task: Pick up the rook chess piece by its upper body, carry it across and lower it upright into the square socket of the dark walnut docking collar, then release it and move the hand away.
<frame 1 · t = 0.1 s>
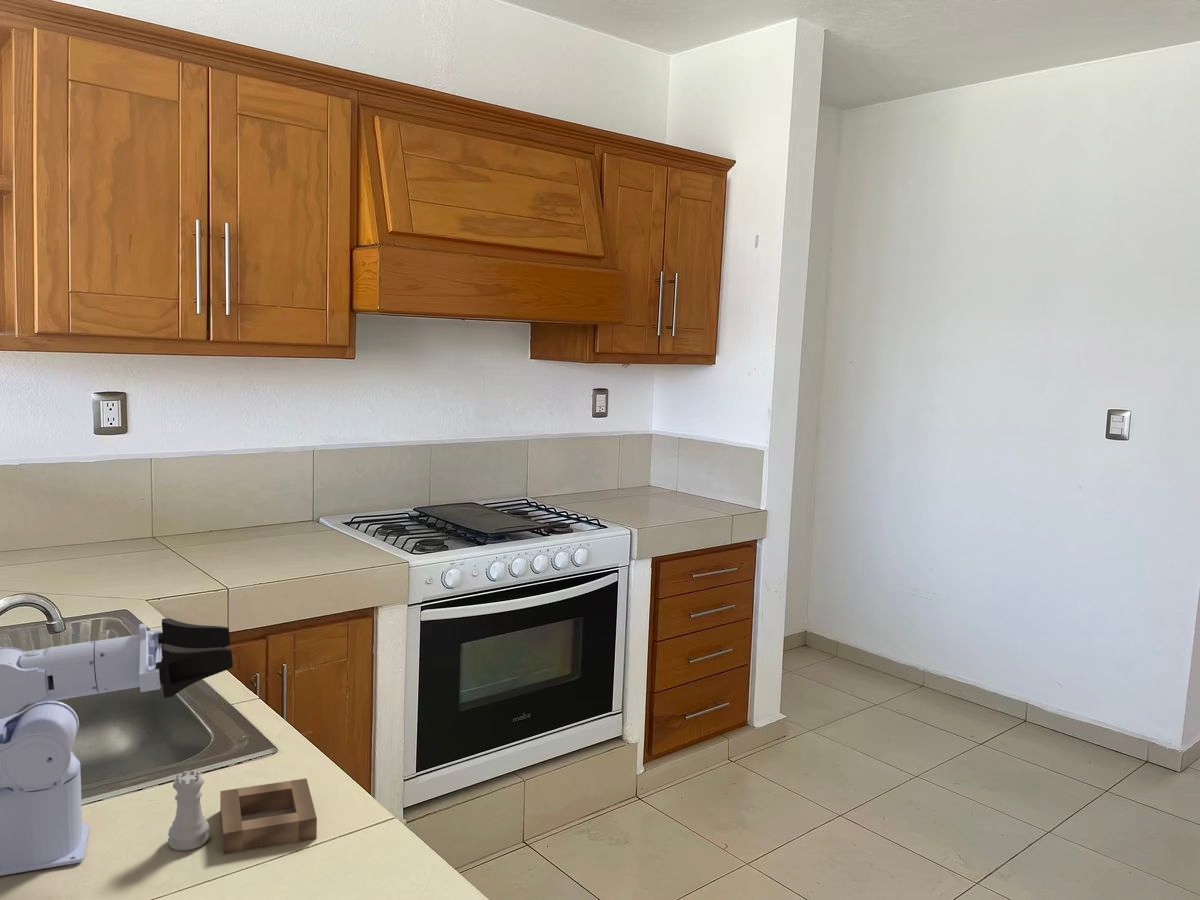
hand: (230, 646, 107), 22 cm above the worktop, tool horizontal, fingers open, 7 cm apart
walnut docking collar: (267, 824, 110), on the worktop
rook chess piece: (189, 843, 105), on the worktop
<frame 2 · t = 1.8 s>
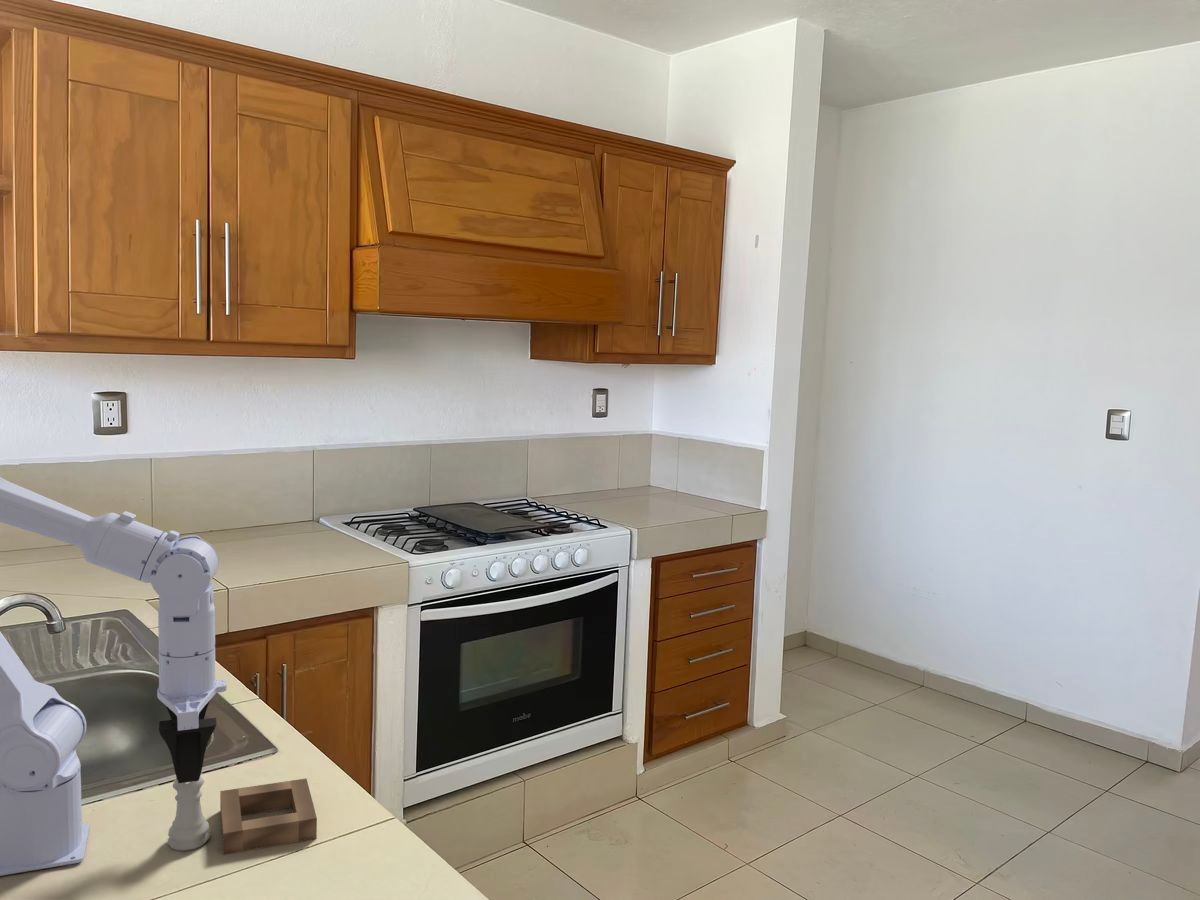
hand: (188, 764, 104), 9 cm above the worktop, tool pointing down, fingers open, 7 cm apart
nothing on the worktop moved.
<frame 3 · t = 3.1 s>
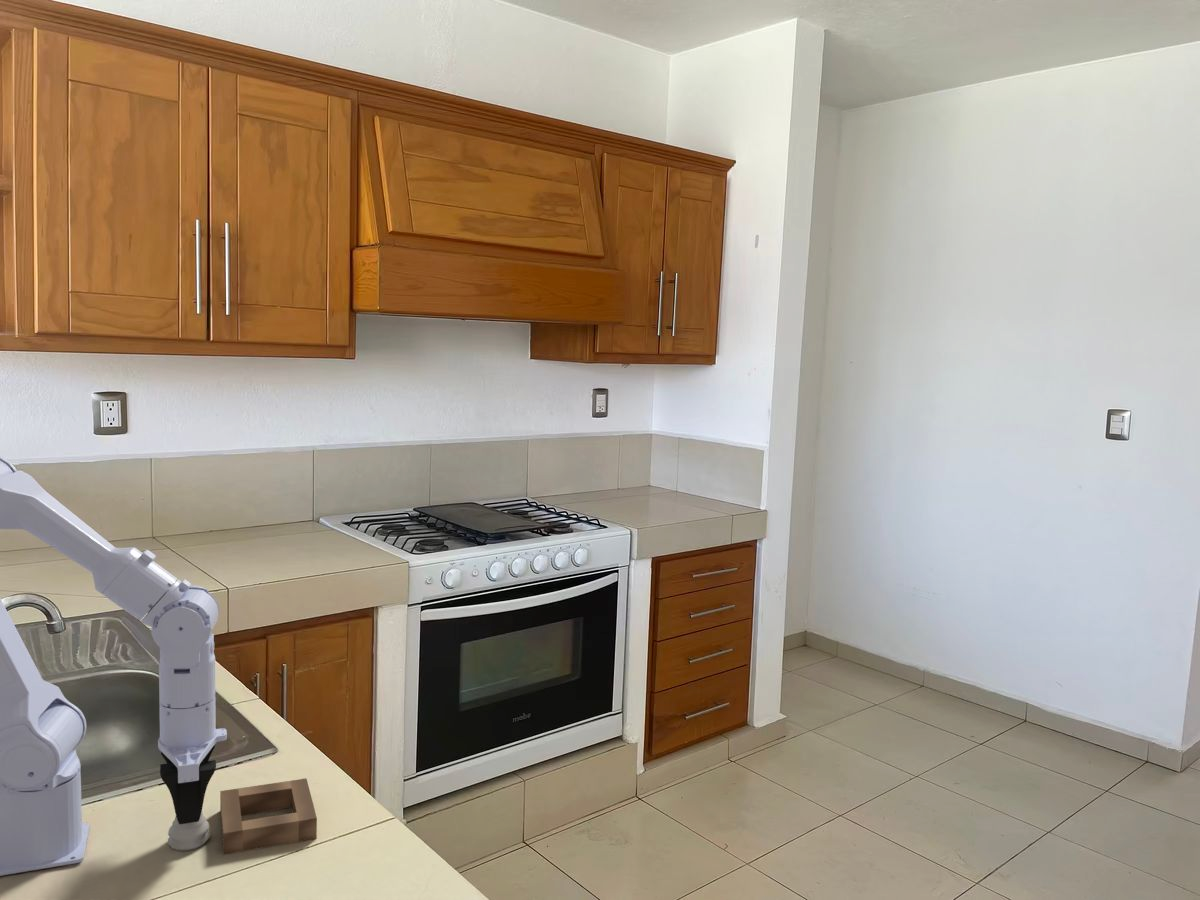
hand: (188, 813, 105), 3 cm above the worktop, tool pointing down, fingers closed on rook chess piece, 3 cm apart
rook chess piece: (189, 843, 105), on the worktop, touching gripper
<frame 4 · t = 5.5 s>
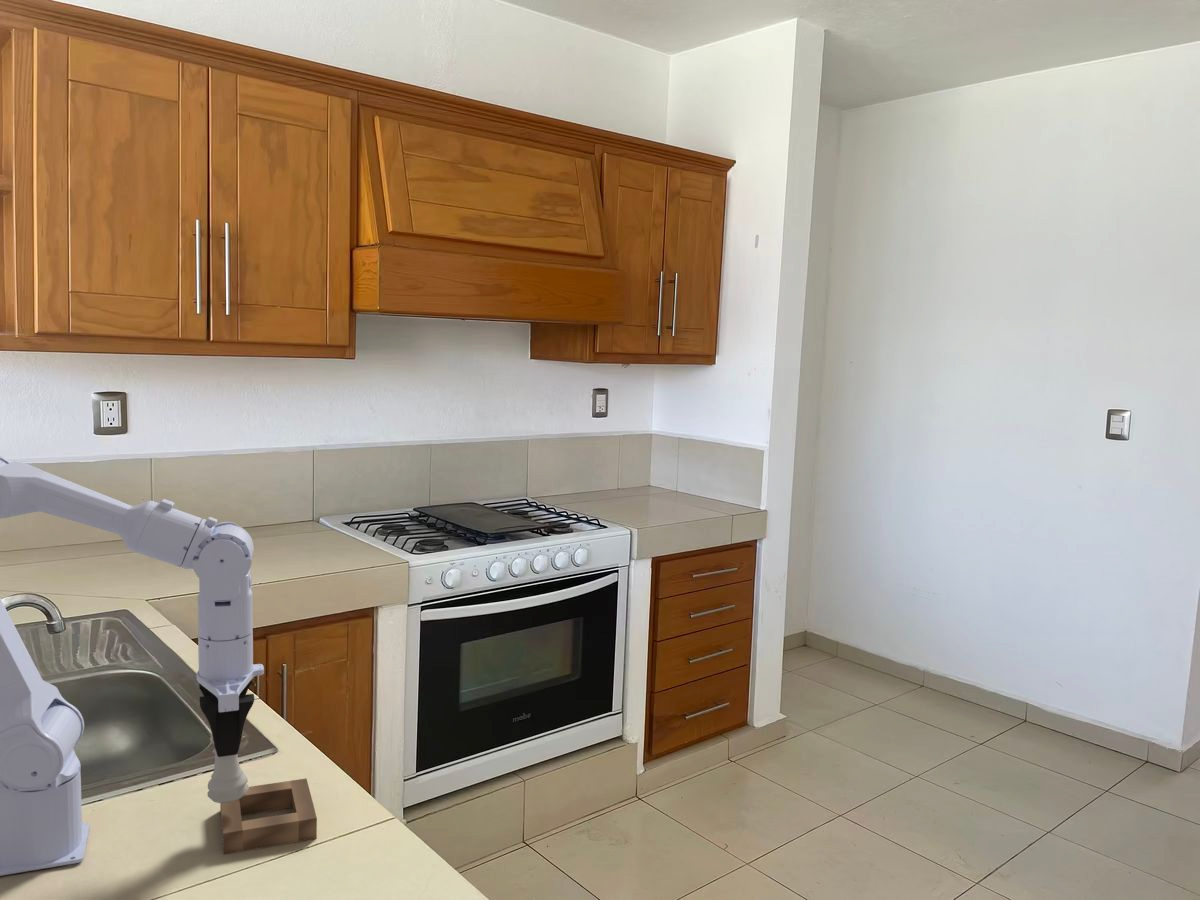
hand: (226, 747, 106), 10 cm above the worktop, tool pointing down, fingers closed on rook chess piece, 3 cm apart
rook chess piece: (228, 796, 107), point 5 cm above the worktop, touching gripper
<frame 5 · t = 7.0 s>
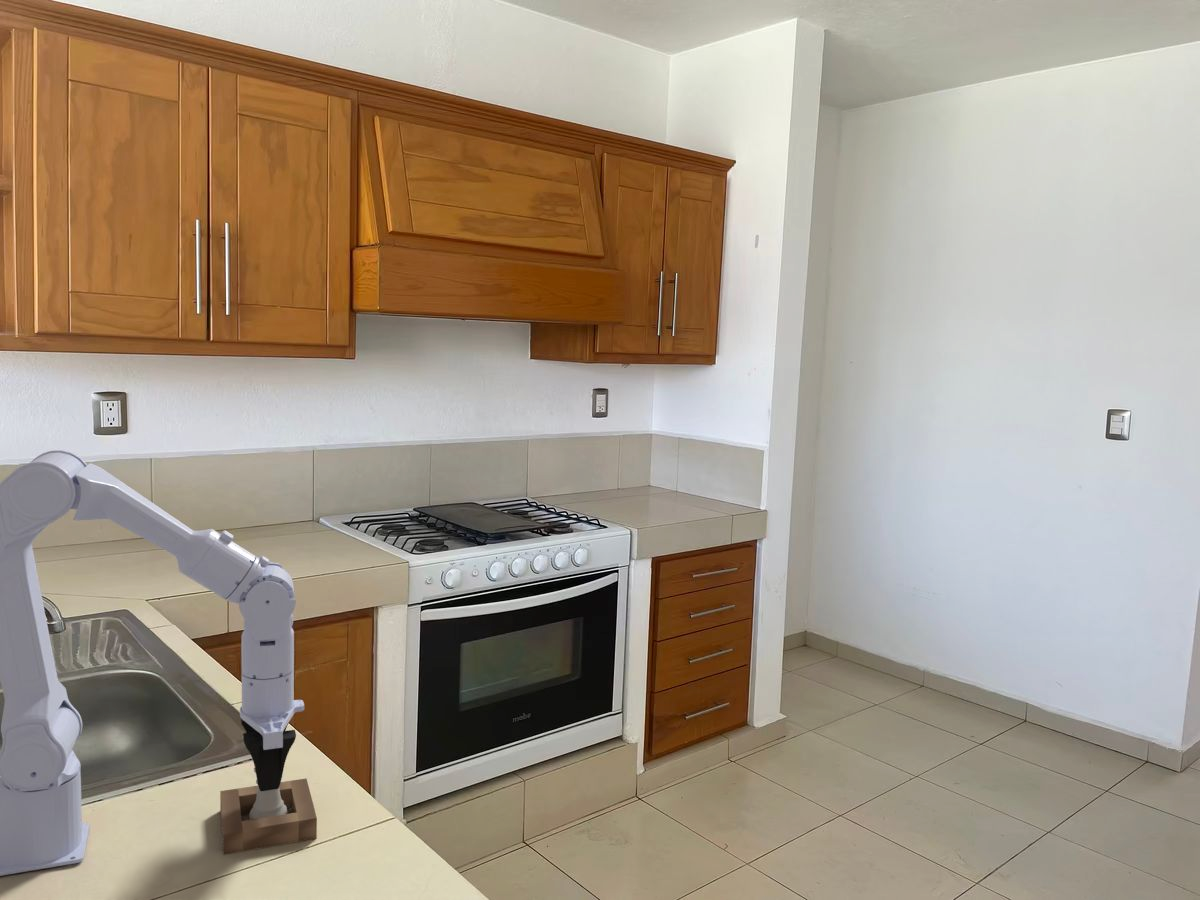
hand: (267, 781, 109), 5 cm above the worktop, tool pointing down, fingers closed on rook chess piece, 3 cm apart
rook chess piece: (268, 825, 110), resting in walnut docking collar, touching gripper
when the fingers open (4 cm above the worktop, at t = 8.0 s): rook chess piece stays where it is, resting in walnut docking collar.
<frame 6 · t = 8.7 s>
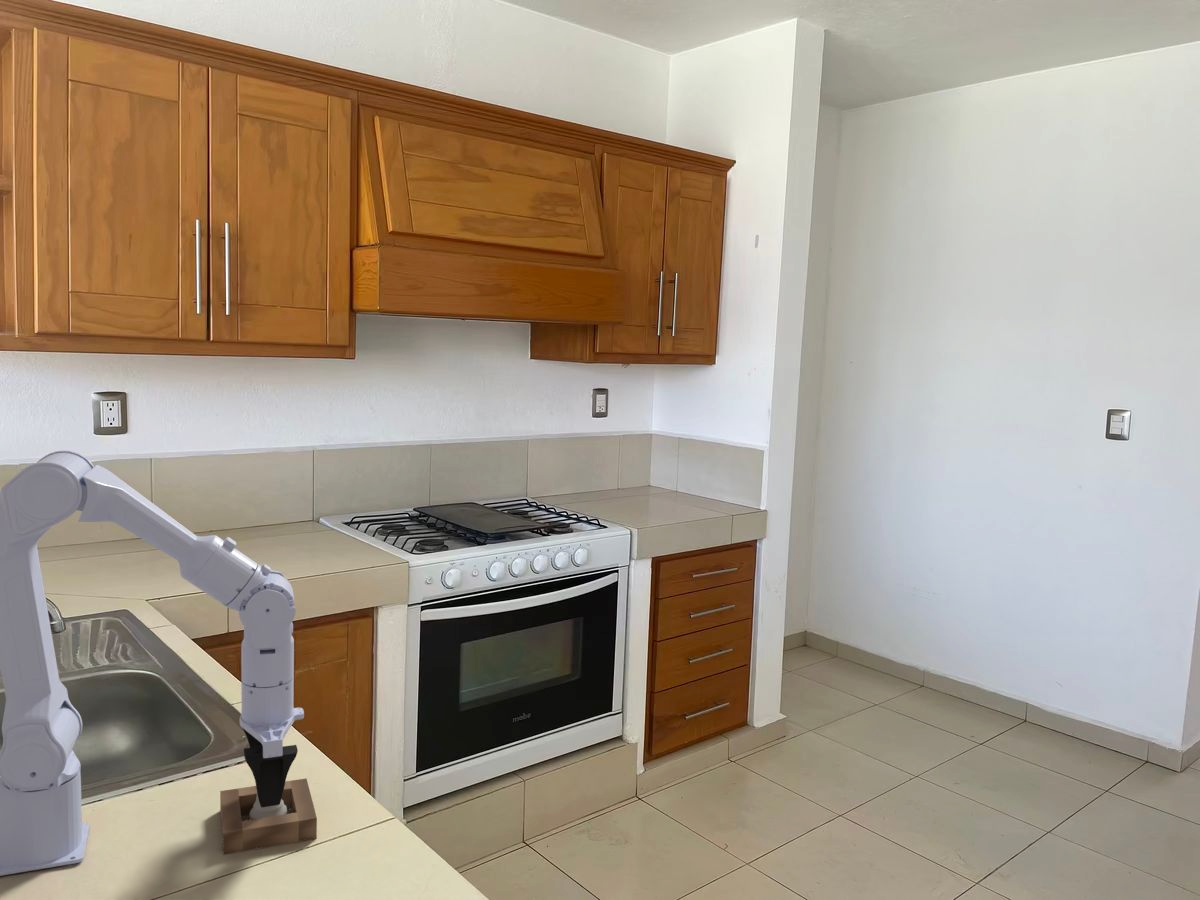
hand: (267, 789, 109), 4 cm above the worktop, tool pointing down, fingers open, 7 cm apart
rook chess piece: (268, 825, 110), resting in walnut docking collar
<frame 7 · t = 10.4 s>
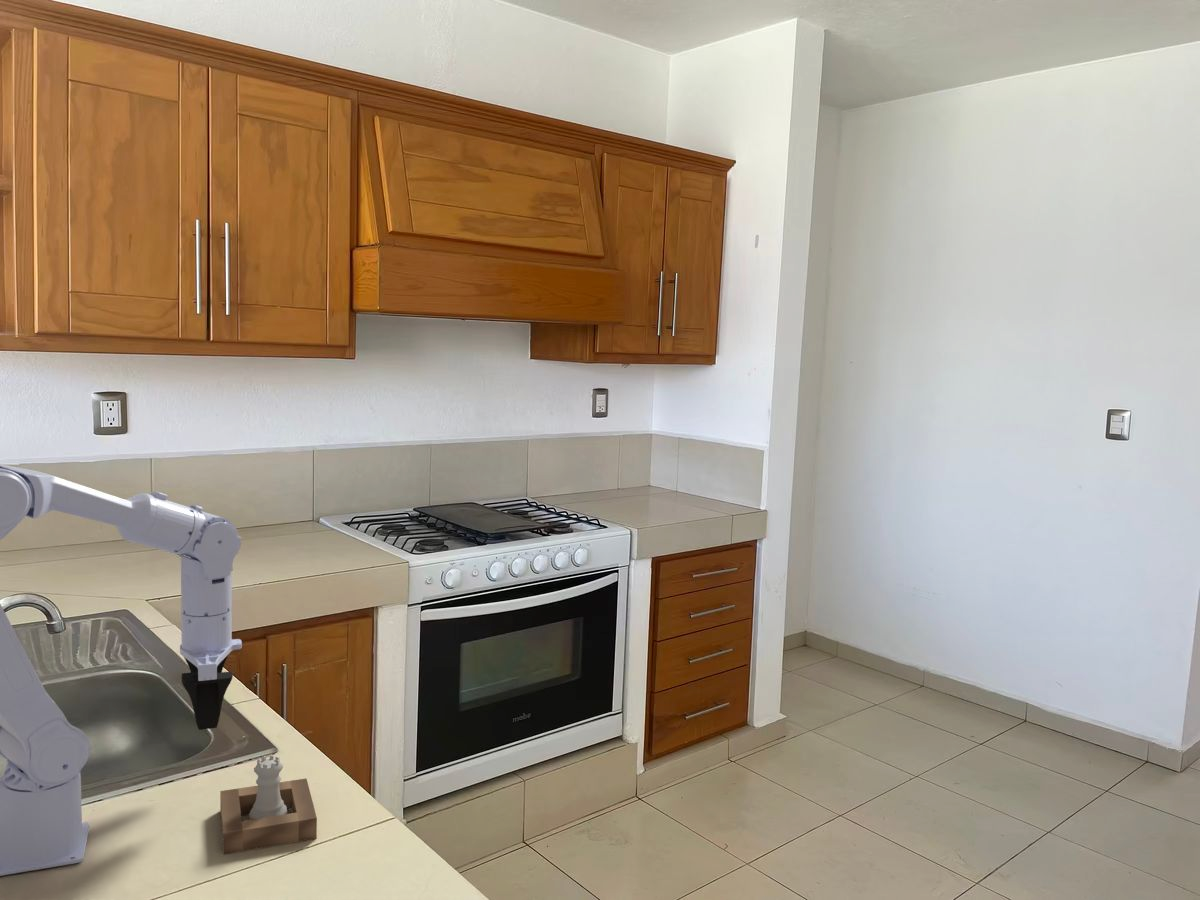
hand: (207, 715, 115), 10 cm above the worktop, tool pointing down, fingers open, 7 cm apart
nothing on the worktop moved.
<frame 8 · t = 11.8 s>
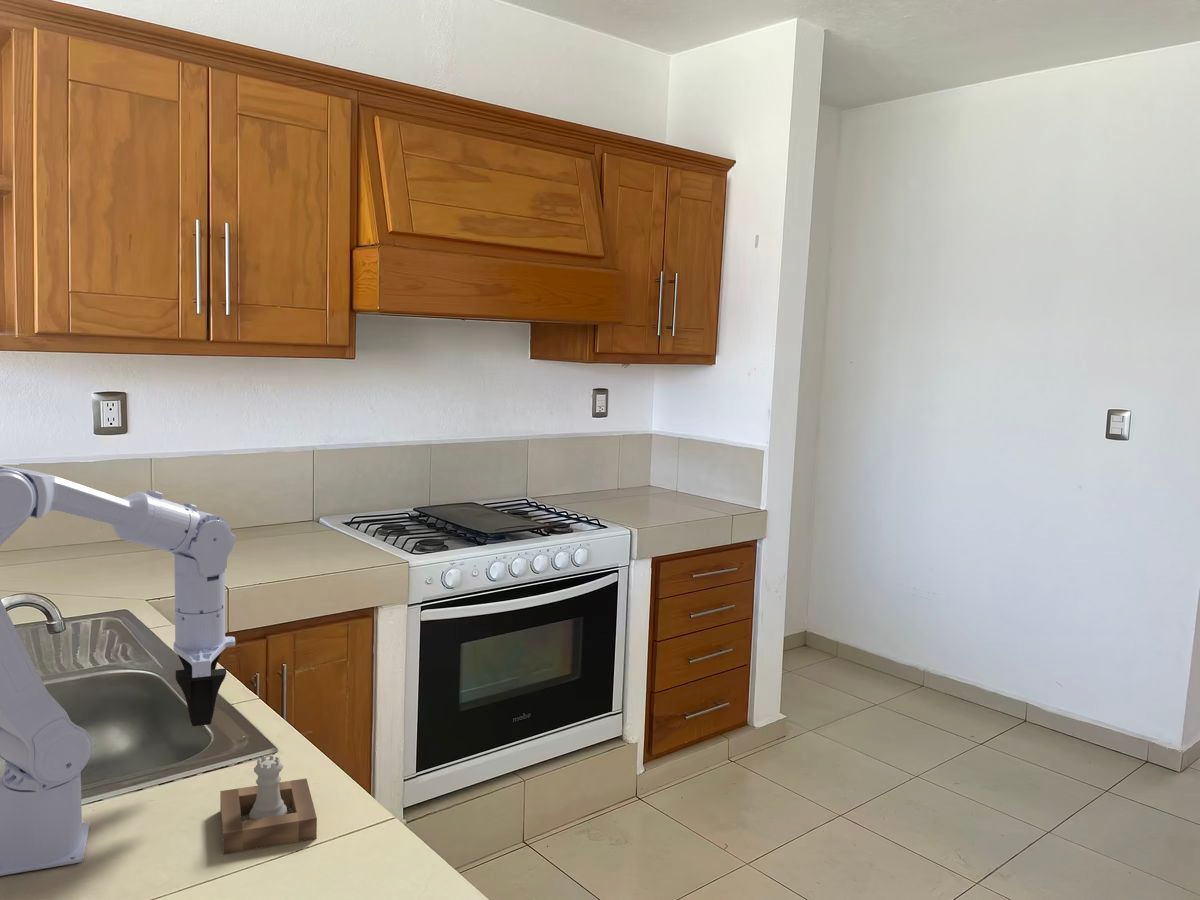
hand: (200, 711, 116), 10 cm above the worktop, tool pointing down, fingers open, 7 cm apart
nothing on the worktop moved.
at the end: rook chess piece 0.1 cm off-centre on the walnut docking collar, point 0.0 cm above the walnut docking collar's base; rook chess piece tilted 0°; the gripper is holding nothing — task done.
